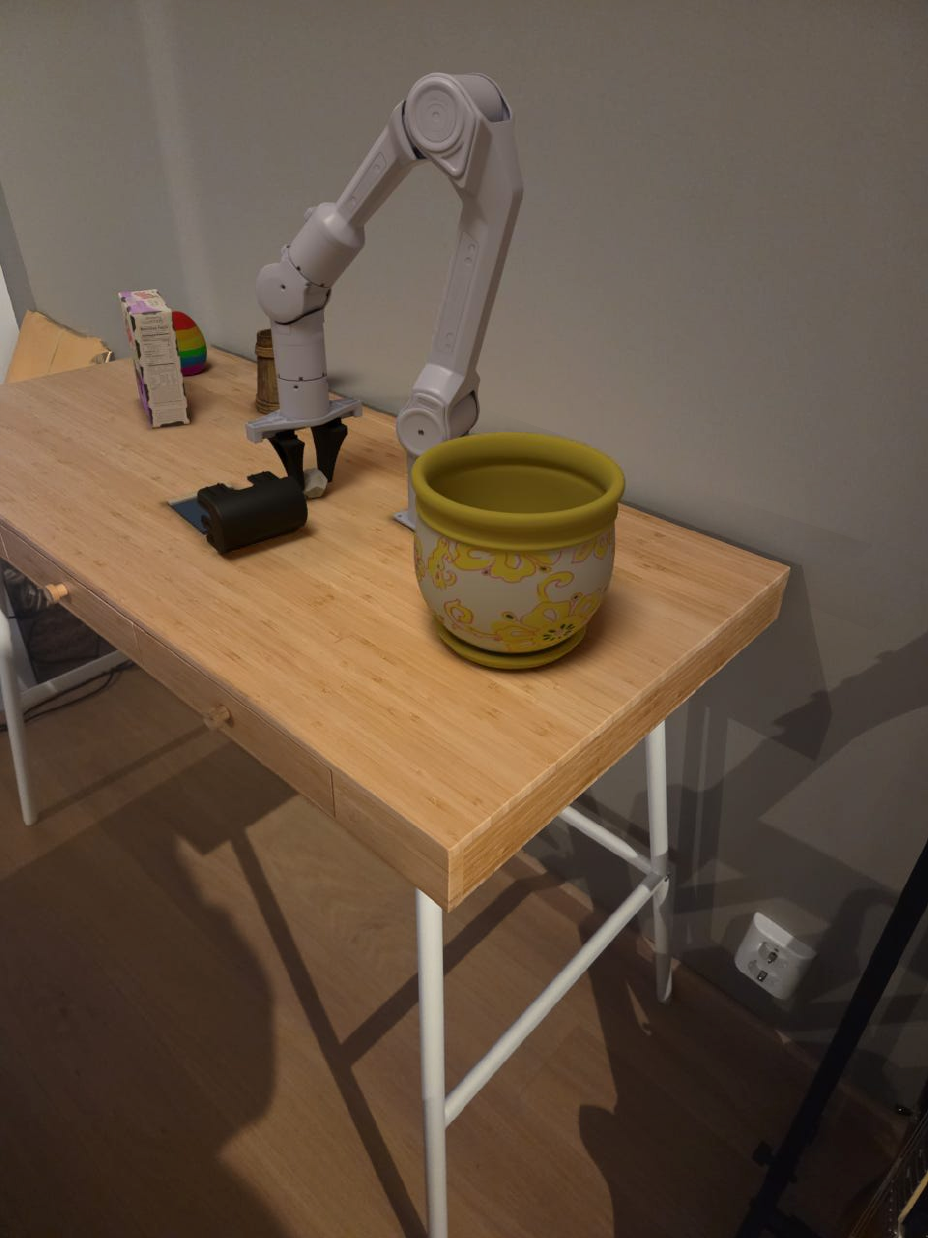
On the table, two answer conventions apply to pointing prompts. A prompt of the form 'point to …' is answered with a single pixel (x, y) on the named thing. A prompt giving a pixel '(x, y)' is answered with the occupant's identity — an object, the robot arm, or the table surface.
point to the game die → (314, 482)
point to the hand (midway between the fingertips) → (312, 484)
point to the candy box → (155, 357)
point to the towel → (190, 509)
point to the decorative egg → (189, 344)
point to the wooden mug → (266, 374)
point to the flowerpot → (514, 543)
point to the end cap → (252, 511)
